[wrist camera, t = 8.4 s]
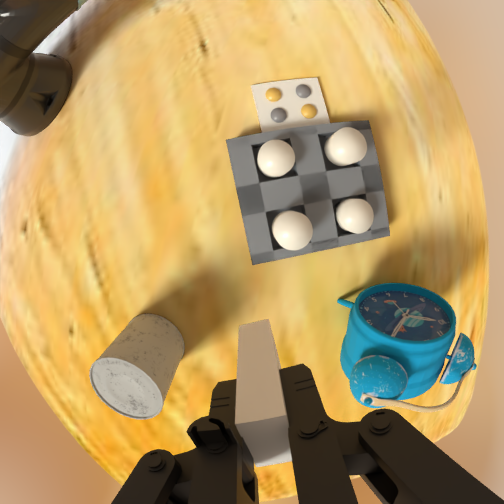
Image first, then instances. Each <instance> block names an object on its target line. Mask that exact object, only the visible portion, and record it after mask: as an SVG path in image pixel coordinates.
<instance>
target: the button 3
mask: <svg viewBox="0 0 504 504" xmlns="http://www.w3.org/2000/svg"><path fill="white" fill-rule="evenodd" d="M324 150H325V154H326V156H327V158H328V159H329V161H330V162H332V163H333V164H335V165H338V166H346V165H349V164H352V163H355V162H358V161H360V160H362V159H363V158H364V156H365V155H366V152H367V143H366V140H365V138H364V136H363V135H362V134H361V133H360V132H359V131H358V130H356V129H354V128H351V127H344V128H341V129H340V130H338V131H337V132H335V133H334V134H333V135H331V136H330V137H329V138H328V139H327V140H326V142H325V146H324Z"/></svg>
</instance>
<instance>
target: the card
mask: <svg viewBox="0 0 504 504" xmlns="http://www.w3.org/2000/svg"><path fill="white" fill-rule="evenodd" d="M251 90H252V94H253V98H254V102H255V106H256V110H257V114H258V118H259V123H260V127H261V131H262V133H263V132H269V131H275V130H281V129H287V128H294V127H302V126H310V125H318V124H327V123H330V120H329V117H328V113H327V109H326V106H325V102H324V99H323V95H322V92H321V89H320V85H319V82H318V79H317V78H304V79H293V80H284V81H276V82H269V83H262V84H256V85H251Z"/></svg>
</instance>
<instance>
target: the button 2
mask: <svg viewBox="0 0 504 504" xmlns="http://www.w3.org/2000/svg"><path fill="white" fill-rule="evenodd" d="M272 233H273V235H274V237H275V239H276V240H277V242H278V243H279V244H280V245H281V246H282V247H283V248H285V249H288V250H299V249H302V248H304V247H305V246H306V245H307V244H308V243H309V242H310V240H311V238H312V234H313V227H312V224H311V222H310V220H309V219H308V218H307V217H306V216H305V215H304V214H302V213H299V212H295V211H291V210H287V211H283V212H281V213H279V214H278V215H277V216H276V217H275V218H274V220H273V223H272Z"/></svg>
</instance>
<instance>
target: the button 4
mask: <svg viewBox="0 0 504 504" xmlns="http://www.w3.org/2000/svg"><path fill="white" fill-rule="evenodd" d="M334 216H335V222H336V224H337V225H338V226H339V227H340V228H341V229H344V230H347V231H350V232H352V233H356V234H360V233H364V232H366V231H367V230H368V229H369V228H370V227H371V225H372V223H373V219H374V213H373V210H372V207H371V206H370V204H369V203H368V202H366V201H365V200H363V199H343V200H341V201H339V202H338V203H337V204H336V206H335V208H334Z"/></svg>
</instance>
